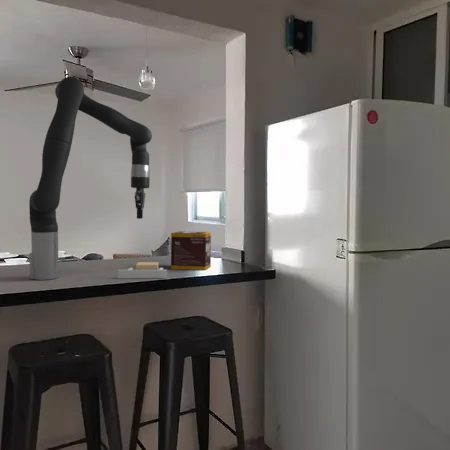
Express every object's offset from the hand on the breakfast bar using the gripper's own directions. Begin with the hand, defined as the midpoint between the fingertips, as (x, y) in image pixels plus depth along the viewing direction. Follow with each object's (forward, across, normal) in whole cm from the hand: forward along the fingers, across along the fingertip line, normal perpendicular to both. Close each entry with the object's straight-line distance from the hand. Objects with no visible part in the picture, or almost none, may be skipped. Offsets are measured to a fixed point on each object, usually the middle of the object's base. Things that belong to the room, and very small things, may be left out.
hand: (139, 218), depth 184 cm
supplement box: (+21, -8, +22) cm, 31 cm away
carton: (+22, +13, +5) cm, 26 cm away
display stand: (+22, +12, +4) cm, 25 cm away
